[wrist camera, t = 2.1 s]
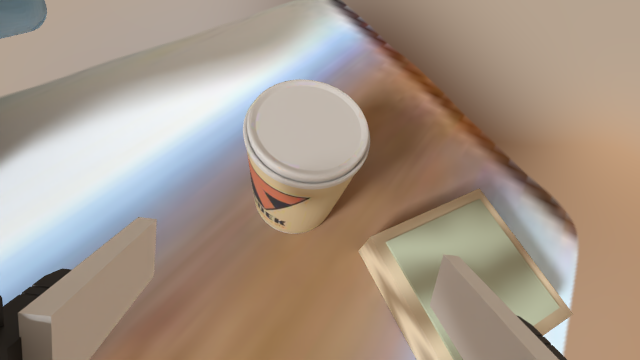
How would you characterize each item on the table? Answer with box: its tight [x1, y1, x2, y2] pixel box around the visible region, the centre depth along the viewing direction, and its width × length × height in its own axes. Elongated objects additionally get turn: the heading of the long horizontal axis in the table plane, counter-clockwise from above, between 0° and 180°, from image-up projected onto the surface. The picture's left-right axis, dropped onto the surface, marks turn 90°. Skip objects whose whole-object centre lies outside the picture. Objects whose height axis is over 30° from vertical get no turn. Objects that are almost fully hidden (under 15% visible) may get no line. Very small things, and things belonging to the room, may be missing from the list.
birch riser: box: [359, 189, 573, 360], centre depth 31 cm, size 13×13×4 cm
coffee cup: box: [243, 80, 370, 234], centre depth 30 cm, size 9×9×12 cm
